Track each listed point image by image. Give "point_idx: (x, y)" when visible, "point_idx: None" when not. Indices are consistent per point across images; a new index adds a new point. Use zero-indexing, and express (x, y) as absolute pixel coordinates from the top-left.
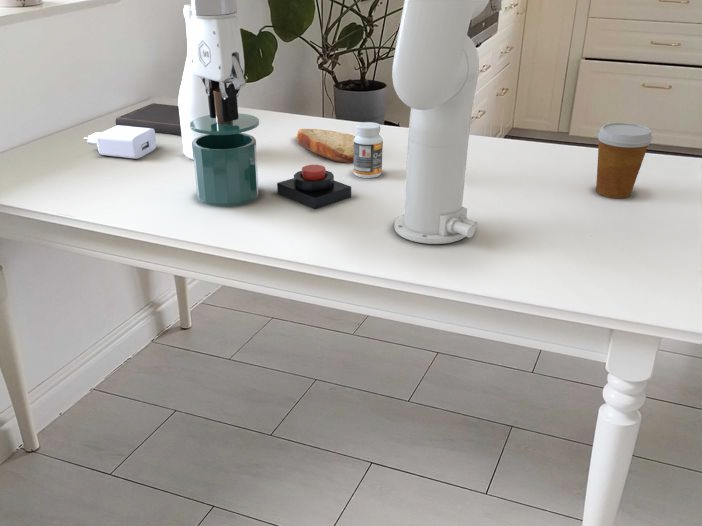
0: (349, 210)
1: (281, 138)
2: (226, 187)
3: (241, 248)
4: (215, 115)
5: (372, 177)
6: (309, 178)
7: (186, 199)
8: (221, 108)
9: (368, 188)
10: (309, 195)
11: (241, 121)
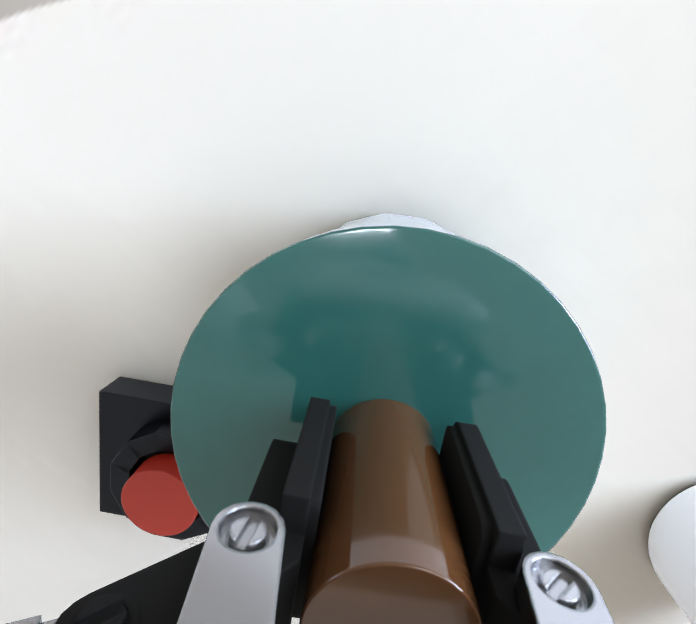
0: (58, 422)
1: None
2: None
3: (37, 23)
4: (445, 449)
5: None
6: (152, 459)
7: (479, 206)
8: (312, 444)
9: (138, 558)
10: (125, 398)
11: None
